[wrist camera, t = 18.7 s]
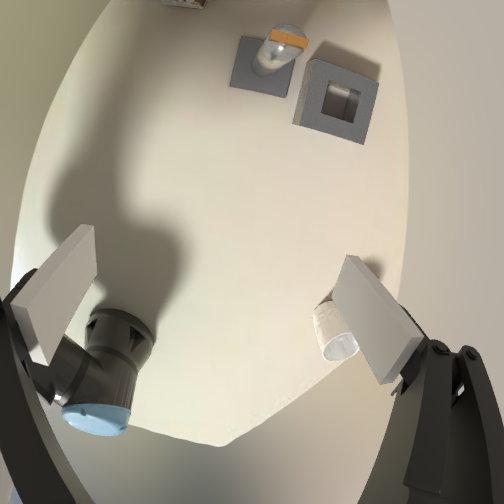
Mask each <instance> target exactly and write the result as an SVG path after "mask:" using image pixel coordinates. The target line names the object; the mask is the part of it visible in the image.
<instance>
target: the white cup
mask: <svg viewBox="0 0 504 504" xmlns="http://www.w3.org/2000/svg"><path fill="white" fill-rule="evenodd" d="M312 319H313V322H314V326H315V331H316V335H317V339H318V342H319V345H320V348H321V352H322V355H323V357H324V359H326V360H327V361H330V362H339V361H343V360H346V359H348V358H350V357H352V356H353V355H354V354H356V353H357V352H358V351H359V349H360V347H359V345H358V343H357V341H356V340H355V338H354V336H353V334H352V332H351V331H350V329H349V327H348V325H347V324H346V322H345V320H344V318H343V316H342V315H341V313H340V311H339V309H338V308H337V306H336V304H335V302H334V301H327V302H324V303H322V304H320V305H318V306H317V308H316V309H315V310H314V311H313V315H312Z"/></svg>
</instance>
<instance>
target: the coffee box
mask: <svg viewBox="0 0 504 504" xmlns="http://www.w3.org/2000/svg"><path fill="white" fill-rule="evenodd" d="M162 2H163V4H164V5H173V6H182V7H190V8H197V9H203V8H204V7H205V5H206V2H207V0H162Z"/></svg>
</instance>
